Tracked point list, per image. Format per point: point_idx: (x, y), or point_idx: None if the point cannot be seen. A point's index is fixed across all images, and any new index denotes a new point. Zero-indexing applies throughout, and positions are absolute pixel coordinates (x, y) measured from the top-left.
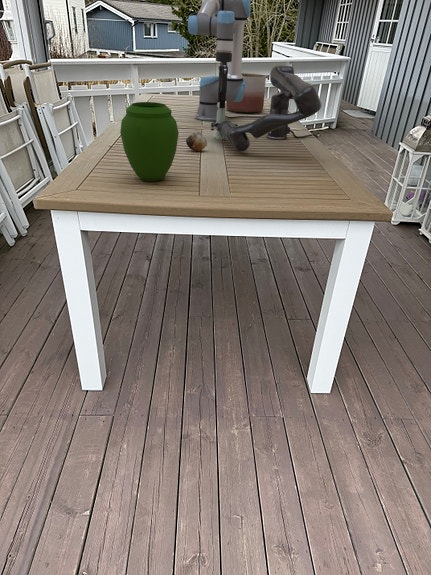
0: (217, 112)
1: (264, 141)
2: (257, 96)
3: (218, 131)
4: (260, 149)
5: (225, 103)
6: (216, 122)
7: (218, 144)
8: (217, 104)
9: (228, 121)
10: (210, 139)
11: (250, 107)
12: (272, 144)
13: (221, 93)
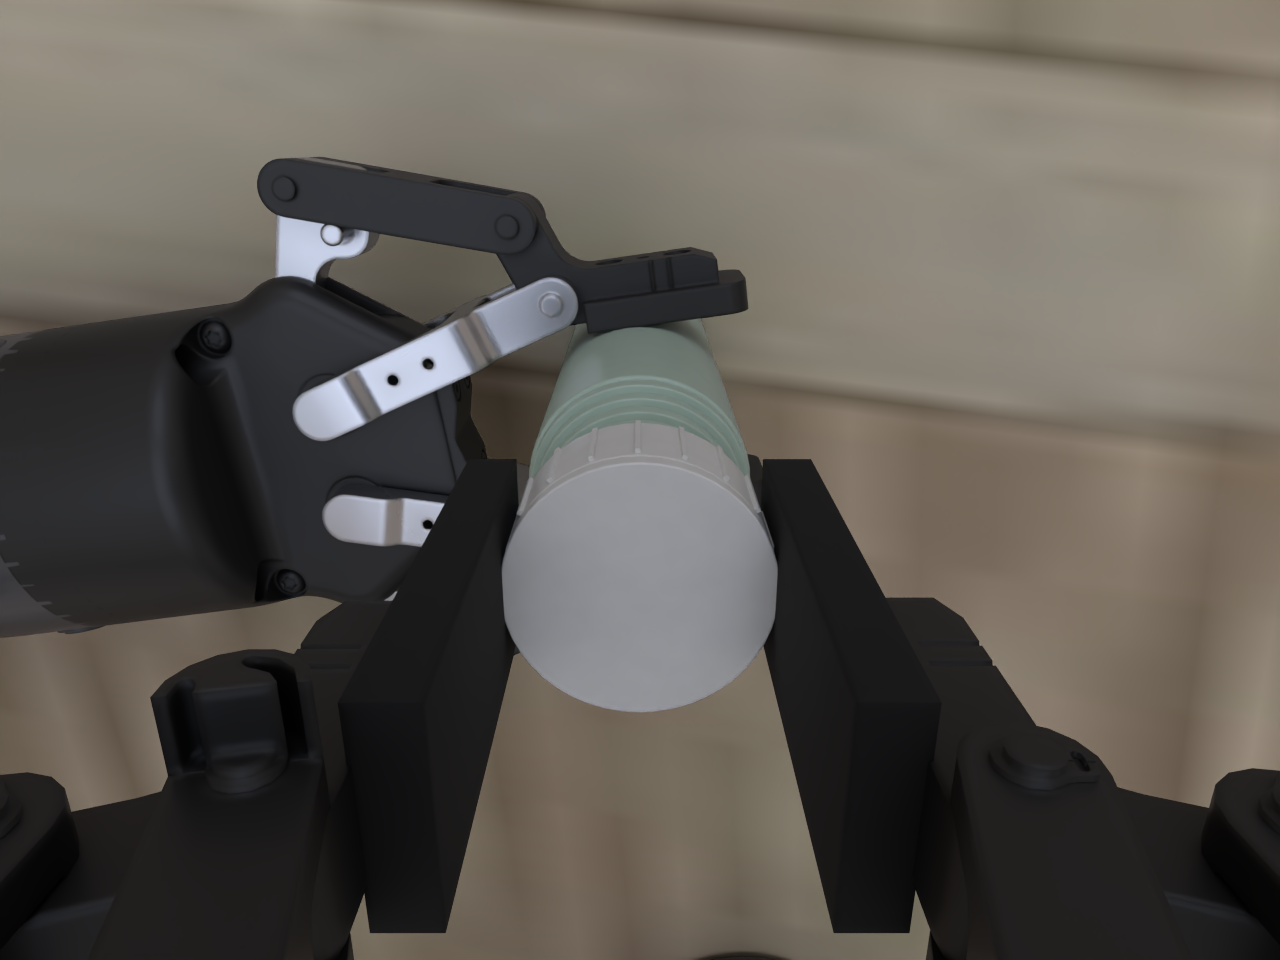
0: (605, 387)
1: (530, 887)
2: None
3: (574, 333)
4: (92, 772)
5: (579, 697)
6: (616, 323)
7: (233, 270)
8: (636, 444)
9: (80, 538)
10: (563, 176)
11: None
12: (386, 936)
13: (350, 759)
